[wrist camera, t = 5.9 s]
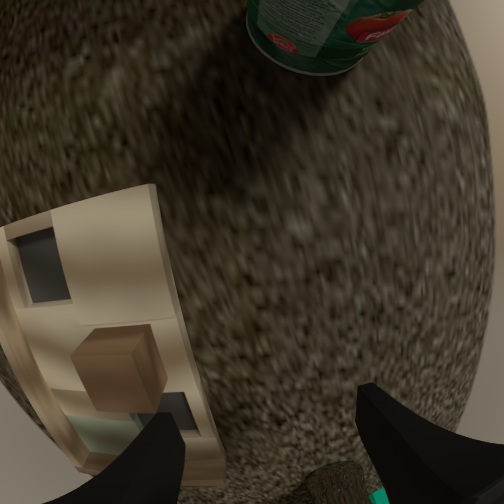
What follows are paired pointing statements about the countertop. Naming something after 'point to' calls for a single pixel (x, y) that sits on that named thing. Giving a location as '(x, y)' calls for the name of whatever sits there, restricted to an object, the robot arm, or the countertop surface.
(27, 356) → the wooden flat frame
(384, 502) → the candle
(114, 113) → the countertop surface
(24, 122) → the countertop surface
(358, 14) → the canned tomato
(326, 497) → the beer glass
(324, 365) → the countertop surface
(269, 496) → the countertop surface
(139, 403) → the block
